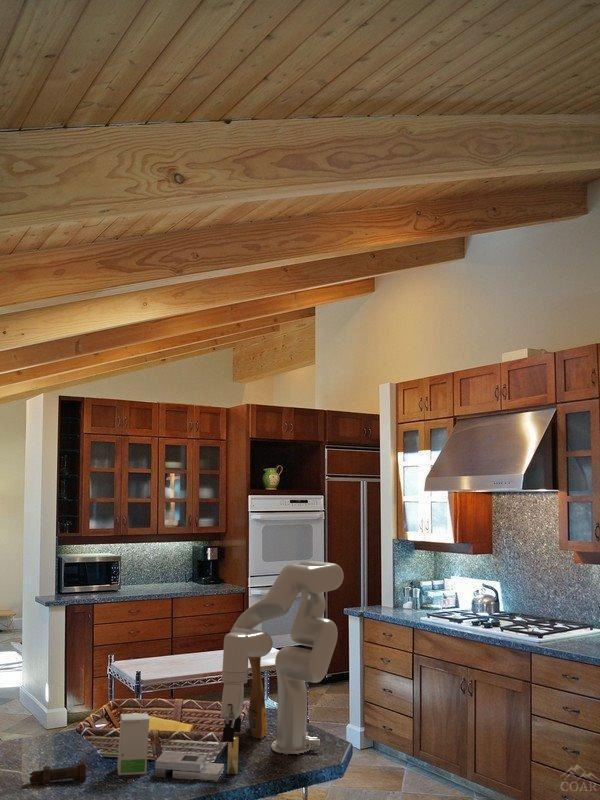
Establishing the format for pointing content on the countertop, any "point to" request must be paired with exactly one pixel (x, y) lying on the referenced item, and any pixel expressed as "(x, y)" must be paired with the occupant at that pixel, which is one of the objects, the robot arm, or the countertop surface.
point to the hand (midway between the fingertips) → (231, 736)
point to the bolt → (59, 774)
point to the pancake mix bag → (257, 701)
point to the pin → (233, 756)
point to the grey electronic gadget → (187, 766)
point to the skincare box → (133, 744)
